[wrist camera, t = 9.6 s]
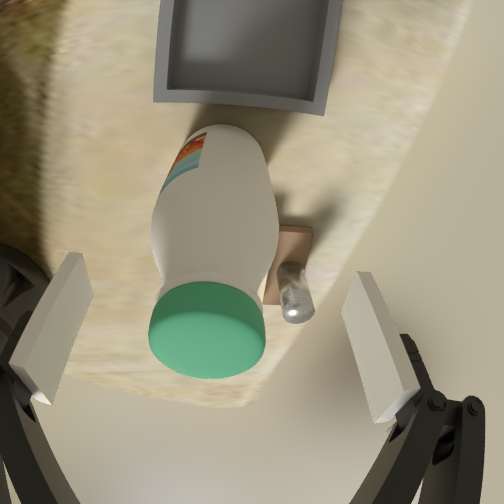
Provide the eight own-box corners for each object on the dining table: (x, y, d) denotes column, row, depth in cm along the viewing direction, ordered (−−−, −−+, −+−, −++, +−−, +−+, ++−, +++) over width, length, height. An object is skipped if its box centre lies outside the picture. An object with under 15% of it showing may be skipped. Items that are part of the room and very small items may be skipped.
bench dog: (274, 282, 35) (280, 323, 30) (278, 260, 33) (286, 301, 28) (300, 283, 35) (310, 323, 30) (306, 261, 33) (318, 302, 28)
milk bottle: (240, 107, 25) (252, 235, 9) (278, 180, 29) (331, 369, 13) (163, 148, 26) (68, 319, 10) (205, 214, 31) (183, 409, 14)
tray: (162, 96, 24) (153, 102, 21) (175, -42, 16) (168, -52, 13) (314, 108, 25) (323, 116, 22) (334, -26, 17) (346, -34, 15)
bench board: (179, 292, 36) (178, 299, 36) (177, 218, 31) (175, 224, 30) (293, 298, 38) (294, 305, 37) (311, 227, 32) (313, 233, 31)
